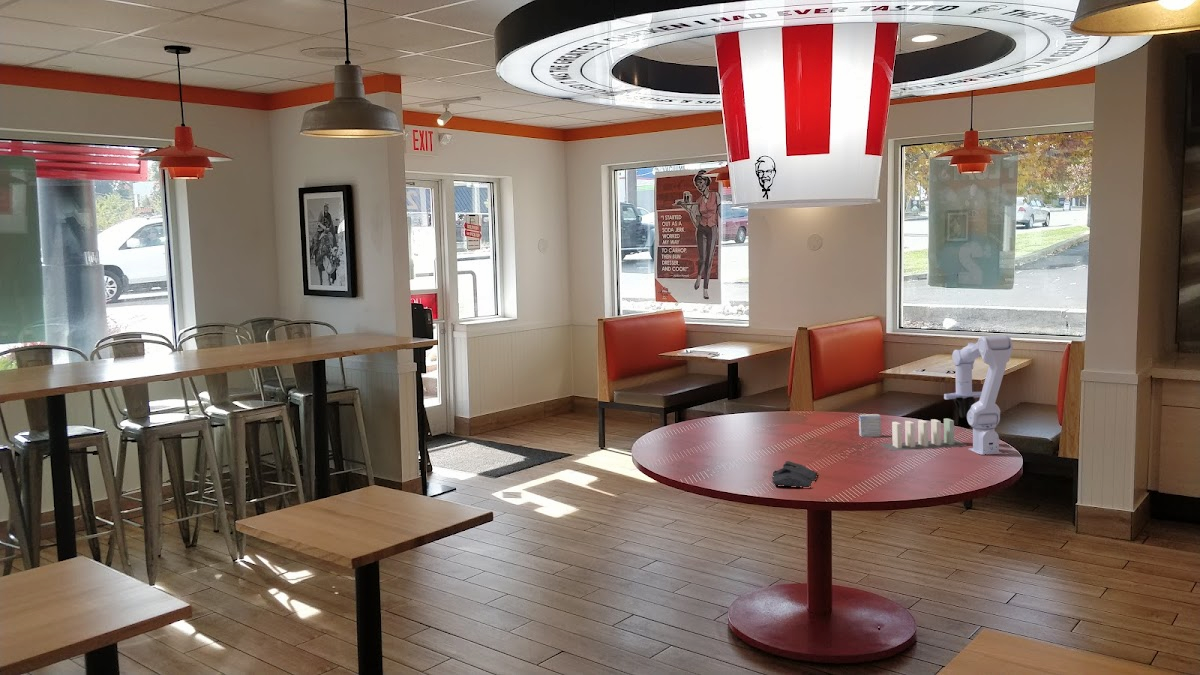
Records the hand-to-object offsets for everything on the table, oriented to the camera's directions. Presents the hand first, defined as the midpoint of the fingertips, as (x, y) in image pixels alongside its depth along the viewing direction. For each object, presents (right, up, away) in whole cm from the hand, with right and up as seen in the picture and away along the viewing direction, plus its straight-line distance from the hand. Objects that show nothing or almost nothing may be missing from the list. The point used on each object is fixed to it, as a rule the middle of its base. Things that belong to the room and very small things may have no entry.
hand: (964, 417), depth 348 cm
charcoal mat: (-15, -11, 0) cm, 19 cm away
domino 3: (-15, -10, 0) cm, 19 cm away
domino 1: (-25, -11, -1) cm, 28 cm away
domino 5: (-5, -10, +1) cm, 11 cm away
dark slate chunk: (-73, -18, -42) cm, 86 cm away
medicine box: (-29, -10, +22) cm, 38 cm away
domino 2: (-20, -11, 0) cm, 23 cm away
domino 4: (-10, -10, 0) cm, 15 cm away
